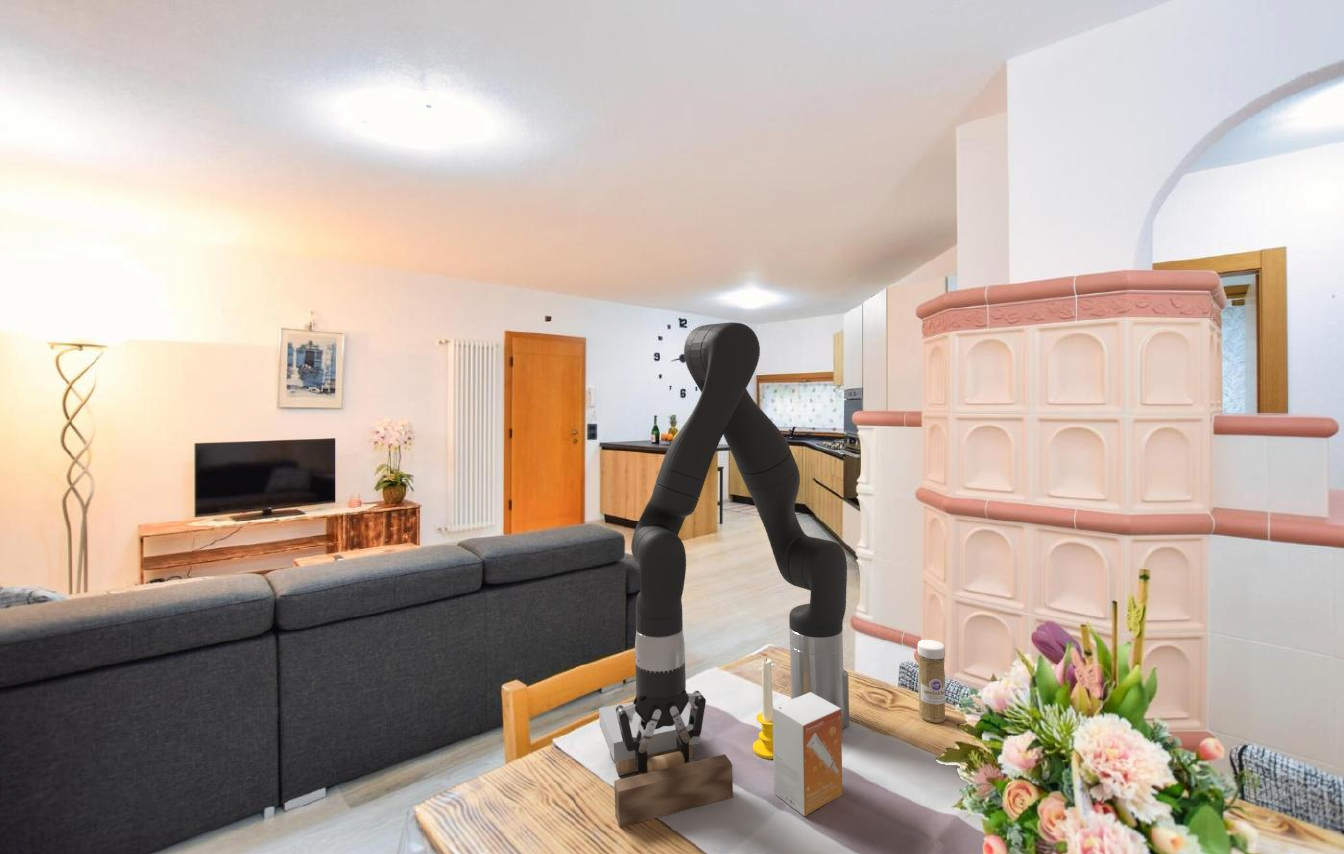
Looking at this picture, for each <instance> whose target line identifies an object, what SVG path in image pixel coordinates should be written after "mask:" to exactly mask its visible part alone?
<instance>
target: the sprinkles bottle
mask: <svg viewBox="0 0 1344 854" xmlns="http://www.w3.org/2000/svg"><path fill="white" fill-rule="evenodd" d="M917 655H918V670H917V672H918V673H917V675H918V678H917V679H918V680H917V681H918V683H917V684H918V685H917V686H918V687H917V689H918V690H917V691H918V704H919V705H918V708H919V709H918V716H919V718H921V719H922V720H924V721H925V722H926V721H927V722H929V723H933V724H934V723H936V724H937V723H938V724H939V723H943V722H945V720H946V719H947V718H946V672H945V657H946V647H945V645H944V644H943V643H942V642H940V641H937V640H933V639H922V640H919V641H918V642H917Z"/></svg>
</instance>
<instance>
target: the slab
mask: <svg viewBox="0 0 1344 854" xmlns="http://www.w3.org/2000/svg"><path fill="white" fill-rule="evenodd" d="M633 702H634V701H630V702H625V703H620V704H615V705H611V706H610V705H609V706H604V707H598V716H599V717H598V718H599V721H598V722H599V723H598V724H599V728H600V731H601V733H602V735H603V738H604V740H605V743H606V746H607V748H608V749H609V750H610V751H609V754H610V753H611V755H612V758H613V759H612V758H611V759H612V760H613V762H614V763H615V762H619V761H623V760H628V759H632V758H635V750H632V751H628V750H627V749H626V747H625V744H624V742H623V740H622V735H621V731H620V727H619V722H618V718H617V714H616V708H617V706H619V705H622V706H623V708H624V707H626V706H629V705H631V704H633ZM680 716H681V718H682V720H683V722H684V724H685V727H686V726H687V725H688V723H689V716H690V710H689V708H688V707H687V706H686V707H685V709H684V710H683V712H682V714H681V715H680ZM640 718H641V717H640V716H639V715H638V714H637V712H636V713H634V715H633V720H632V722H631V723H629V724H630V728H631V733H632V737H636V734H637V731H638V724H639V721H640ZM676 737H678V733H677V731H676V728H675V726H674V725H673V726H663V727H661V728H659V729H655V730H654V733H653V736H652V738H651V739H650V740H649V743H648V746H647V749H646V750H647V755H649V754H654V753H658V752H662V751H667V750H671V749H676V748H677V744H676ZM700 743H701V735H700V736H698V737H695V736H694V737H692V738H691V739H690V741H689V745H692V746H693V745H696V744H700ZM611 755H610V756H611Z"/></svg>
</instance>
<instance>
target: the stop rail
mask: <svg viewBox="0 0 1344 854" xmlns="http://www.w3.org/2000/svg"><path fill="white" fill-rule="evenodd" d="M613 781H614V782H613V784H614V785H613V786H614V787H613V788H614V813H615V814H614V815H615V819H616V822H617V825H618V826H619V827H618V828H622V827H626V826H630V825H634V824H638V823H641V822H644V821H648V820H652V819H656V818H661V817H663V816H667V815H671V814H675V813H678V812H679V813H680V812H682V811H686V810H690V809H693V808H697V807H701V806H705V805H708V804H712V803H716V802H719V801H724V800H727V799H731V798H734V789H733V763H732V762H731V760H730V759H729V757H728V756H727V755H726V753H723V754H720V755H715V756H711V757H708V758H703V759H700V760H695V761H691V762H686V764H682V765H678V766H673V767H669V768H665V769H661V770H657V771H653V772H648V773H644V774H642V773H639V774H637V775H632V776H628V777H624V778H619V779H615V780H613Z"/></svg>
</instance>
